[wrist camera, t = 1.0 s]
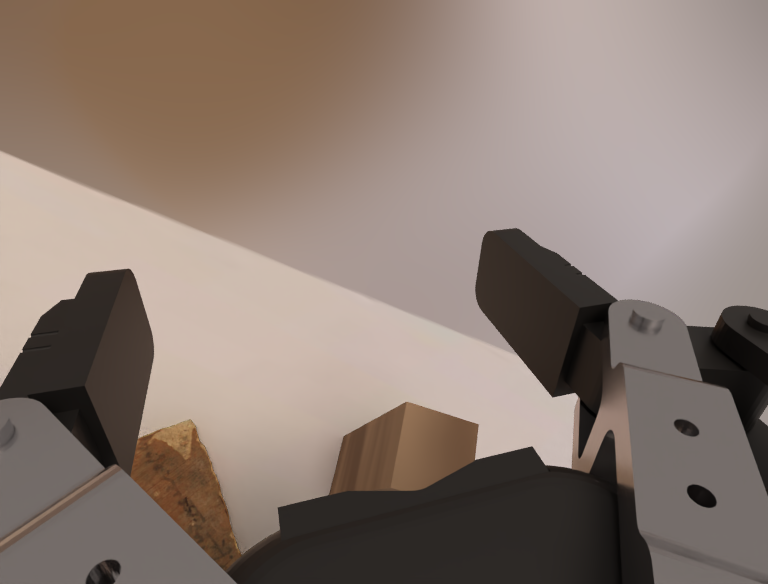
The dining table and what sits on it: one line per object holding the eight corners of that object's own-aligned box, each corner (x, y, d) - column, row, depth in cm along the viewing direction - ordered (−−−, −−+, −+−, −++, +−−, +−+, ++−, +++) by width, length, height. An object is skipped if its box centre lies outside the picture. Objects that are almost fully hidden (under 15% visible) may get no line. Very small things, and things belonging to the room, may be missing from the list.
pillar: (328, 496, 31) (390, 487, 21) (343, 436, 33) (406, 401, 23) (384, 510, 32) (469, 509, 22) (395, 451, 34) (478, 424, 23)
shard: (253, 588, 28) (255, 593, 26) (111, 671, 24) (104, 682, 23) (196, 419, 31) (195, 414, 29) (61, 471, 27) (52, 468, 26)
